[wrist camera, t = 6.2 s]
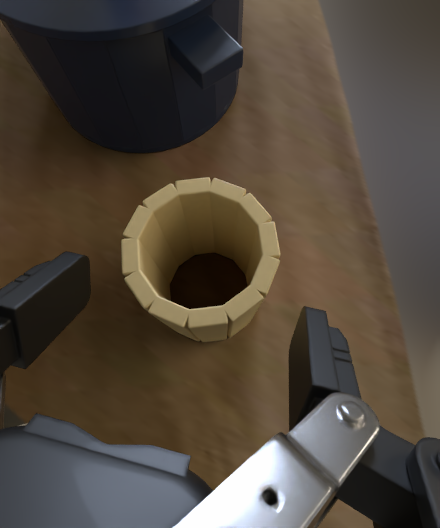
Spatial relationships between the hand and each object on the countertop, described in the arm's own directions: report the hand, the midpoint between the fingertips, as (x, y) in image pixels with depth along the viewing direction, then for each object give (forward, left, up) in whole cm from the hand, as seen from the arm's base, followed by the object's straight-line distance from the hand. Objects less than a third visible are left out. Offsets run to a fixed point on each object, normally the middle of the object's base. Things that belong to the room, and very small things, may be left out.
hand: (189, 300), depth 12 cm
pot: (+7, +17, -7) cm, 20 cm away
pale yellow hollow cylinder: (+1, +1, -7) cm, 8 cm away
